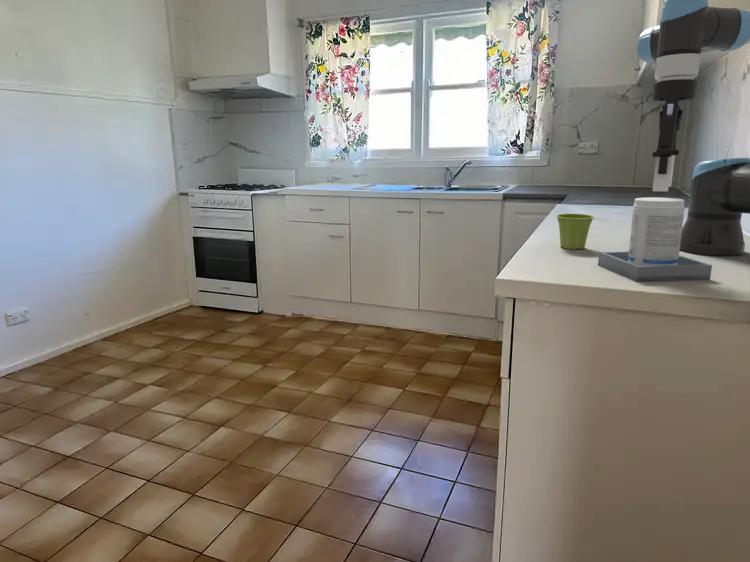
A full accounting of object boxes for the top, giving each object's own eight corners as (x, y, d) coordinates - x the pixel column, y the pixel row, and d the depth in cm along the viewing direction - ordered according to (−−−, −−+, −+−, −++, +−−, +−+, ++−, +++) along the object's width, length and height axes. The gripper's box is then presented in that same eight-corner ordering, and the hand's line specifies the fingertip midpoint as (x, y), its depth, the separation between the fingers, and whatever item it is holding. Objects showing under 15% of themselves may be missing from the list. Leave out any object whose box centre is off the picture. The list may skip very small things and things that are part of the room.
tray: (662, 263, 120) (664, 250, 119) (709, 279, 105) (712, 265, 104) (597, 264, 119) (599, 252, 118) (636, 281, 103) (638, 267, 103)
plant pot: (587, 252, 133) (590, 218, 131) (549, 248, 138) (552, 216, 136) (594, 246, 141) (597, 214, 138) (558, 243, 146) (561, 212, 143)
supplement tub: (685, 268, 110) (695, 199, 106) (661, 274, 105) (671, 201, 101) (641, 260, 118) (649, 196, 114) (617, 265, 113) (625, 198, 109)
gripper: (657, 86, 114) (647, 183, 119) (648, 75, 93) (636, 193, 99) (697, 84, 110) (684, 184, 116) (697, 71, 90) (681, 194, 95)
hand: (662, 188), depth 107 cm, fingers open, 13 cm apart
